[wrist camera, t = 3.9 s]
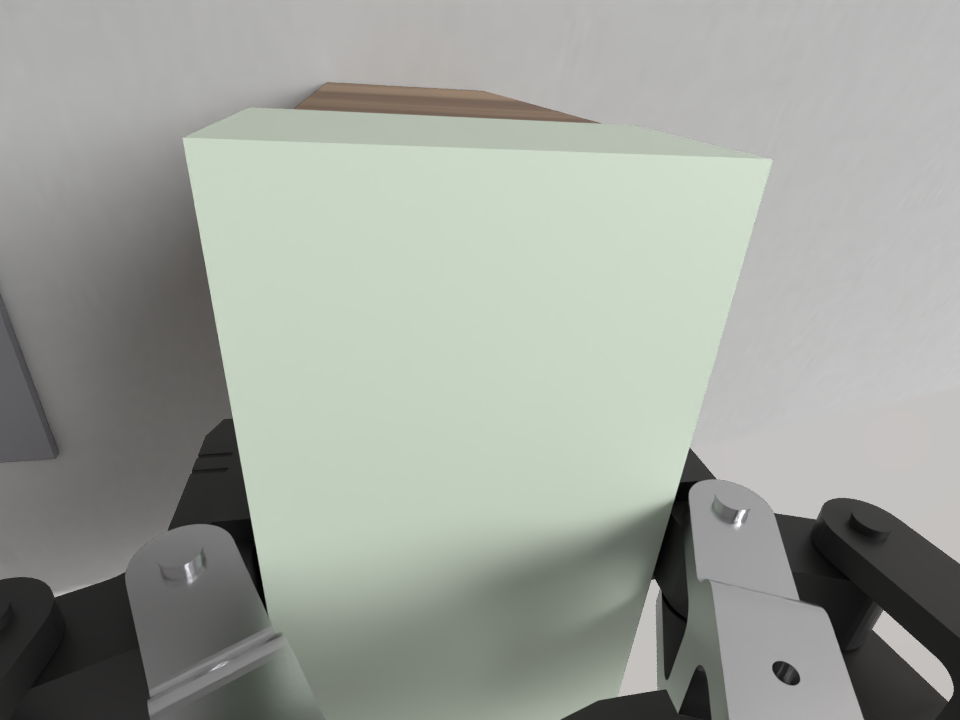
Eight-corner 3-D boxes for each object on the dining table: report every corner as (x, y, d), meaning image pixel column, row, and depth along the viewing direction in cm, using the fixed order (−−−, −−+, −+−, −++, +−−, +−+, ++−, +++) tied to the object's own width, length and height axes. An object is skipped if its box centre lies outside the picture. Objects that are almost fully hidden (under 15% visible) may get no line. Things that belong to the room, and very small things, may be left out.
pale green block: (249, 107, 8) (182, 138, 5) (636, 124, 9) (772, 159, 6) (316, 644, 14) (303, 811, 11) (550, 613, 15) (599, 756, 12)
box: (327, 82, 17) (293, 109, 8) (483, 91, 18) (602, 124, 9) (348, 415, 22) (341, 641, 14) (466, 409, 23) (529, 616, 15)
